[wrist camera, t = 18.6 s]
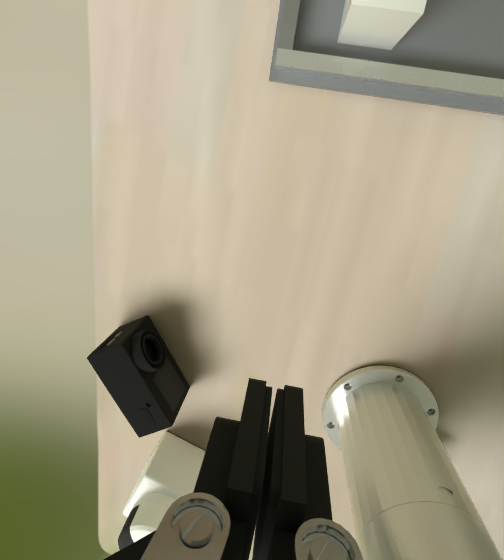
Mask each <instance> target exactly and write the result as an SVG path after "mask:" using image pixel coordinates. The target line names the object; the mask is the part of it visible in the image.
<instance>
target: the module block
mask: <svg viewBox="0 0 504 560" xmlns="http://www.w3.org/2000/svg"><path fill="white" fill-rule="evenodd" d="M426 2H427V0H345V5H344V10H343V15H342V20H341V26H340V31H339V36H338V41H337V43H342V44H349V45H356V46H364V47H371V48H378V49H386V50H392V49H393V47H394V46H395V45H396V44H397V43H398V42H399V41H400V39H401V38H402V37H403V36H404V35H405V34H406V33H407V32H408V30H409V29H410V28H411V27H412V26H413V25H414V24H415V23H416V21H417V20H418V19H419V18H420V17H421V16H422V15H423V13H424V9H425V5H426Z"/></svg>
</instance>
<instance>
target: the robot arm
mask: <svg viewBox="0 0 504 560" xmlns="http://www.w3.org/2000/svg"><path fill="white" fill-rule="evenodd" d="M271 396H272V387H268V386H266V381H262V380H257V379H251V378H249V382H248V387H247V392H246V397H245V401H244V406H243V411H242V416H241V421H235V420H230V419H225V418H220V417H216V419H215V422H214V425H213V429H212V432H211V435H210V438H209V442H208V445H207V448H206V452H205V455H204V458H203V461H202V465H201V468H200V471H199V475H198V478H197V481H196V485H195V488H194V491H193V493H189V494H186V495H184V496H181V497H180V498H178V499H177V500H176V501H174V502H173V503H172V504H171V506H170V507H169V508H168V510H167V511H166V513H165V515H164V517H163V519H162V521H161V522H160V524H159V526H158V528H157V530H155V531H153V532H152V533H150V534H148V535H146V536H145V537H143V538H141V539H139V540H138V541H136V542H134V543H132V544H130V545H129V546H127V547H125V548H123V549H122V550H120V551H118V552H116V553H114V554H113V555H111V556H109V557H107V558H106V559H104V560H248V559H249V554H250V550H251V545H252V540H253V535H254V531H255V538H254V548H253V557H252V560H503V559H502V557H501V555H500V553H499V551H498V550H497V548H496V546H495V544H494V542H493V540H492V538H491V536H490V534H489V533H488V530H487V529H486V527H485V525H484V523H483V521H482V519H481V517H480V515H479V513H478V511H477V509H476V508H475V506H474V504H473V502H472V500H471V498H470V496H469V494H468V492H467V490H466V488H465V487H464V485H463V483H462V481H461V479H460V477H459V475H458V473H457V471H456V469H455V467H454V466H453V464H452V462H451V460H450V458H449V456H448V454H447V452H446V450H445V448H444V446H443V445H442V443H441V441H440V439H439V437H438V435H437V433H436V428H437V425H438V421H439V411H438V405H437V402H436V400H435V398H434V396H433V394H432V392H431V391H430V389H429V388H428V386H427V385H426V384H425V383H424V382H423V381H422V380H421V379H420V378H418V377H417V376H415V375H414V374H412V373H410V372H408V371H406V370H403V369H400V368H396V367H392V366H381V365H380V366H369V367H365V368H361V369H357V370H355V371H353V372H350V373H348V374H347V375H345V376H344V377H342V378H341V379H339V380H338V381H337V382H336V383H335V384H334V385H333V386H332V388H331V389H330V390H329V392H328V393H327V396H326V398H325V400H324V404H323V410H322V413H323V423H324V428H325V430H326V433H327V435H328V437H329V438H330V440H331V441H332V443H333V444H334V445H335V446H336V447H337V448H338V449H339V450H341V451H342V455H343V461H344V467H345V473H346V479H347V485H348V492H349V498H350V504H351V510H352V516H353V522H354V528H355V534H356V540H357V542H356V541H355V539H354V538H353V537H352V536H351V534H350V533H349V532H348V531H347V530H346V529H344V528H343V527H342V526H341V525H339V524H337V523H335V522H333V521H332V512H331V502H330V493H329V484H328V474H327V465H326V456H325V446H324V440H323V438H320V437H315V436H310V435H305V431H304V405H303V389H302V388H298V387H293V386H288V385H285V387H284V390H283V389H277V393H276V398H275V403H274V408H273V413H272V418H271V422H270V427H269V417H270V407H271ZM268 428H269V432H268ZM255 526H256V529H255Z"/></svg>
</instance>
